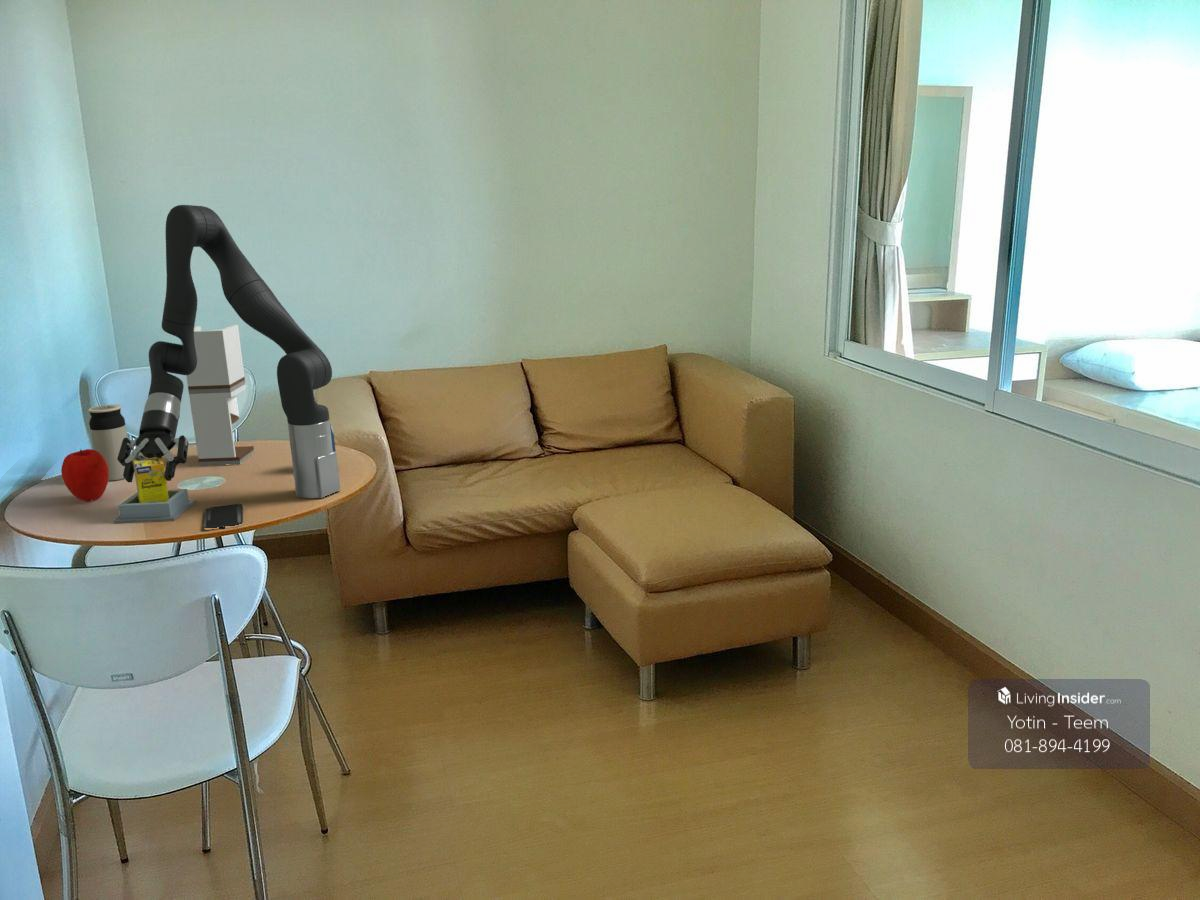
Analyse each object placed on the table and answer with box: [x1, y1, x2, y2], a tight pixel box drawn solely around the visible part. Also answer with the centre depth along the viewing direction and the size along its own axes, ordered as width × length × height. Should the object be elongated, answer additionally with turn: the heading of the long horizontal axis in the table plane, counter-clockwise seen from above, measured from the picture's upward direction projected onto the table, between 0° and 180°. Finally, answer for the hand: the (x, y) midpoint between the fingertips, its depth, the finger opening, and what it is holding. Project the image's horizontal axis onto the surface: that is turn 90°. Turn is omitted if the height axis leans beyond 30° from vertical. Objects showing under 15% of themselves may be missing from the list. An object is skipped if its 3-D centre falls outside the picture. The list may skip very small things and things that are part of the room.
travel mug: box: [87, 404, 129, 482], centre depth 248 cm, size 8×8×18 cm
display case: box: [180, 324, 255, 467], centre depth 259 cm, size 11×11×35 cm
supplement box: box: [133, 457, 169, 503], centre depth 219 cm, size 6×6×11 cm
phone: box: [203, 503, 244, 529], centre depth 215 cm, size 8×1×15 cm
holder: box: [112, 488, 196, 524], centre depth 220 cm, size 13×13×4 cm
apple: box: [60, 448, 109, 502], centre depth 231 cm, size 10×10×12 cm
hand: (147, 479), depth 217 cm, fingers open, 8 cm apart
